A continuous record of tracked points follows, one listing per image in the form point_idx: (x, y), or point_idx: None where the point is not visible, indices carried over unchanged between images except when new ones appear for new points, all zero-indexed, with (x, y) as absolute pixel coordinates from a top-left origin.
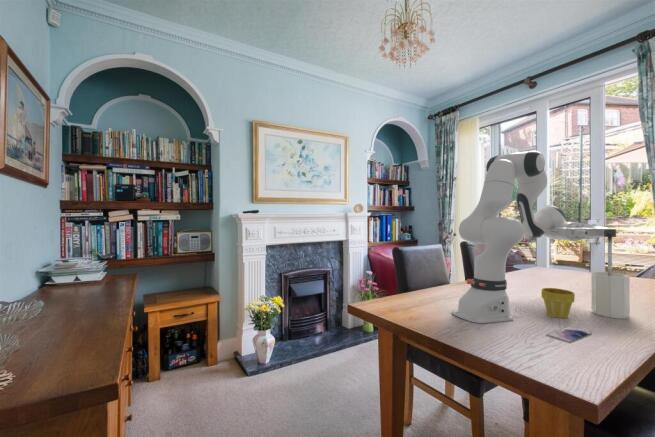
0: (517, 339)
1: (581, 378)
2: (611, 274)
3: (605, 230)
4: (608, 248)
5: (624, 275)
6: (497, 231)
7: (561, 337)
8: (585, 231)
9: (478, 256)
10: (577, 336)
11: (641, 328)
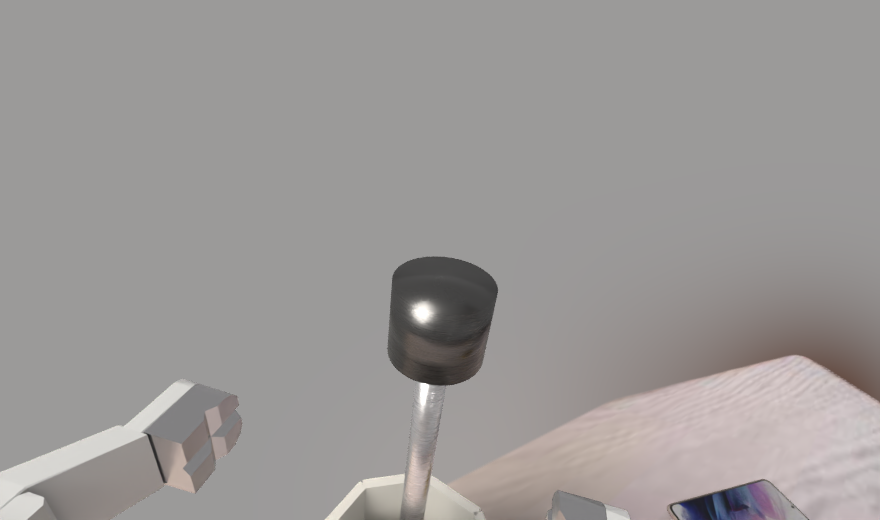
0: None
1: (797, 385)
2: None
3: (494, 303)
4: (437, 435)
5: (344, 514)
6: None
7: (782, 505)
8: (594, 500)
9: None
10: (728, 499)
11: None
